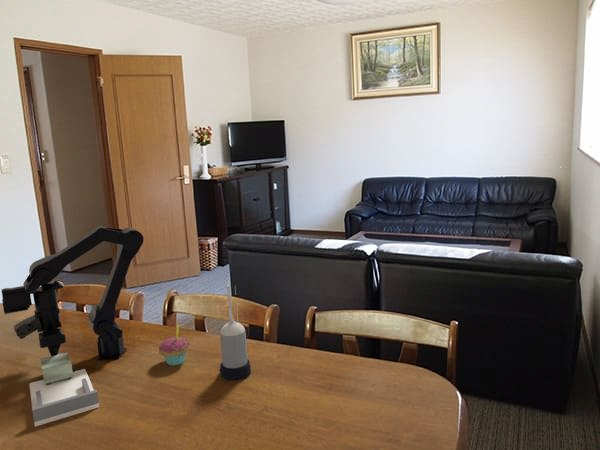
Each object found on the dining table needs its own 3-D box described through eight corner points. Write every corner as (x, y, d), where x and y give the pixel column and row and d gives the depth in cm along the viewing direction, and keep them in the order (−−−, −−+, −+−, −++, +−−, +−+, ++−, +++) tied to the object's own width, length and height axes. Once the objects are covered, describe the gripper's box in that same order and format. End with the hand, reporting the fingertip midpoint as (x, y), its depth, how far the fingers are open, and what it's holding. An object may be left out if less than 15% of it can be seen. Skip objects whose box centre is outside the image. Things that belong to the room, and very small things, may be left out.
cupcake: (194, 355, 147) (190, 316, 144) (185, 369, 138) (181, 328, 136) (166, 355, 148) (162, 317, 145) (155, 368, 139) (150, 328, 137)
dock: (29, 386, 134) (27, 369, 134) (85, 372, 141) (83, 355, 140) (35, 430, 114) (32, 410, 113) (99, 410, 121) (97, 392, 120)
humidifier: (217, 370, 137) (210, 283, 132) (246, 364, 140) (240, 278, 135) (223, 383, 130) (216, 292, 125) (254, 377, 132) (248, 287, 127)
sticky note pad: (42, 374, 139) (40, 358, 138) (70, 367, 142) (67, 352, 142) (44, 386, 131) (42, 369, 130) (73, 378, 135) (71, 362, 134)
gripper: (12, 302, 142) (21, 353, 145) (13, 323, 126) (23, 379, 129) (56, 294, 147) (63, 343, 150) (62, 313, 131) (69, 368, 134)
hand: (54, 358), depth 141 cm, fingers closed
